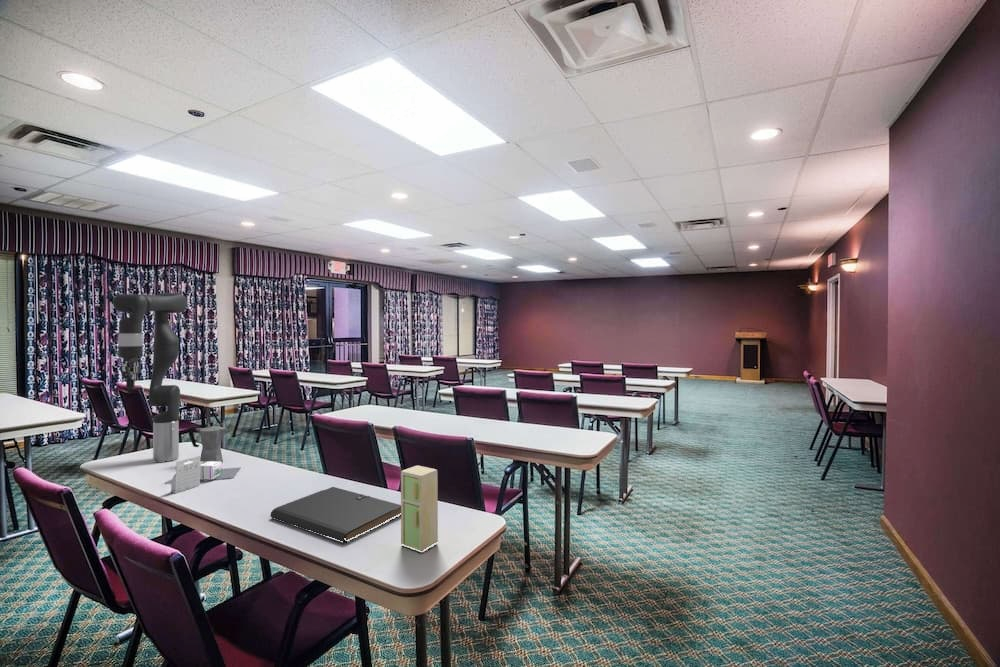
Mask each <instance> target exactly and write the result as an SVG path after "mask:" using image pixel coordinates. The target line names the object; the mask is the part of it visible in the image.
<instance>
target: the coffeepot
mask: <svg viewBox="0 0 1000 667" xmlns="http://www.w3.org/2000/svg"><path fill="white" fill-rule="evenodd" d="M227 431H229V429H228V428H226V427H222V426H215V425H214V422H213V421H210V422H209V426H206V427H204V428H203V427H193V428H191V430H189V432H188V436H189V438H190V441H191V443H192V446H193V448H199V447H200V444H197V441H196V439H195V434H194V433H197V434H198V433H199V436H200V440H201V446H202V449H201V452H200V461H218V462H222V463H223V462H224V459H223V454H222V449H221V448H222V447H221V444H222V440H223V437H224V435H225V434H226V433H227Z"/></svg>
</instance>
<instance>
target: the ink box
mask: <svg viewBox="0 0 1000 667" xmlns="http://www.w3.org/2000/svg"><path fill="white" fill-rule="evenodd" d="M200 457H201V455H198V456H195V457H191V458H187V459H183V460H178V461H176V465H177V466H175V473H174V475H173V476H172V479H171V481H170V482H171V484H170V486H171V487H170V493H172V492H173V493H172V494H177V493H182V492H184V491H186V490H190V489H193V488H195V487H196V488H197V487H199V486H200V484H201V483H200V482H201V481H200ZM187 461H193V463H189V464H184V463H185V462H187ZM198 485H199V486H198Z"/></svg>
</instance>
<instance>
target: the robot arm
mask: <svg viewBox="0 0 1000 667" xmlns="http://www.w3.org/2000/svg"><path fill="white" fill-rule="evenodd" d="M112 306H113V307H114V309H115V310H116V311H118V312H120V313H121V312H122V313H131V315H130V316H129V317H125V318H121V319H120V320H119V322H118V338H117V344H118V345H117V356H118V358H121V359H123V361H122V366H119V371H120V373H121V376H122V378H123V379H125V381H126V383H125V385H126V390H134V389H135V388H136V387H135V383H136V382H135V380H136V378H138V376H139V373H140V370H141V364H140V363H139V361H138V360H139V358H141V357H143V356H144V355H143V353H144V351H143V348H144V347H143V346H144V345H143V342H144V340H143V329H142V328H143V320H144V318H145V314H146V312H147V313H148V312H154V313H155V316H154V317H155V318H154V319H155V330H154V342H153V351H152V353H153V355H152V370H151V371H152V372H151V377H150V378H151V379H150V384H149V389H148V402H149V405H150V406H152V407H167V409H166V410H165V411H163V412H161V413H158V414H155V415H154V416H153V417H152V418H153V420H152V421H153V422H152V424H153V426H152V428H153V429H152V432H153V433H152V446H153V447H152V462H153V461H155V462H154V463H166V462H165V461H167V462H172V461H171V460H173V461H175V459H176V460H178V459H179V455H180V452H179V451H180V450H179V448H180V444H179V442H180V437H179V435H180V434H179V433H180V432H179V421H180V420H179V416H180V404H181V403H180V402H181V388H180V387H179V386H178V385H175V384H169V385H168V384H163V380H164V378H165V375H166V373H167V372H168V371H169V369H170V368H171V367H172V366H173V364H175V362H176V361H177V359H178V357H179V351H180V341H179V339H178V337H177V336H176V334H175V332H174V331H173V329H172V328H171V326H170V324H169V318H168V314H181V313H183V312H185V311H186V309H187V308H188V300H187V298H186V296H185V295H184V294H182V293H179V292H159V293H158V294H157V295H156V294H138V293H136V294H135V293H119V294H117V295H116V296H115V297H114V298H113V299H112ZM162 384H163V385H162ZM177 458H178V459H177Z"/></svg>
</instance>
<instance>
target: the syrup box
mask: <svg viewBox="0 0 1000 667" xmlns="http://www.w3.org/2000/svg"><path fill="white" fill-rule="evenodd" d="M189 463H193V460H192V461H190V460H188V461H187V462H185V463H184V464H189ZM176 466H177V465H176ZM176 466H175V467H176ZM221 469H223V468H222V463H221V462H218V461H200V479H209V480H210V481H213V480H212V479H214V478H216V477H218V476H220V475H221Z"/></svg>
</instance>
